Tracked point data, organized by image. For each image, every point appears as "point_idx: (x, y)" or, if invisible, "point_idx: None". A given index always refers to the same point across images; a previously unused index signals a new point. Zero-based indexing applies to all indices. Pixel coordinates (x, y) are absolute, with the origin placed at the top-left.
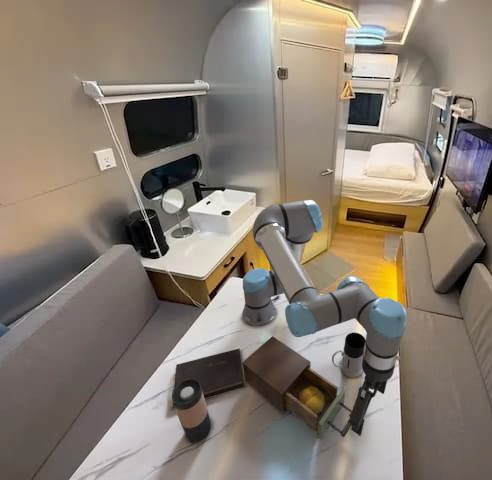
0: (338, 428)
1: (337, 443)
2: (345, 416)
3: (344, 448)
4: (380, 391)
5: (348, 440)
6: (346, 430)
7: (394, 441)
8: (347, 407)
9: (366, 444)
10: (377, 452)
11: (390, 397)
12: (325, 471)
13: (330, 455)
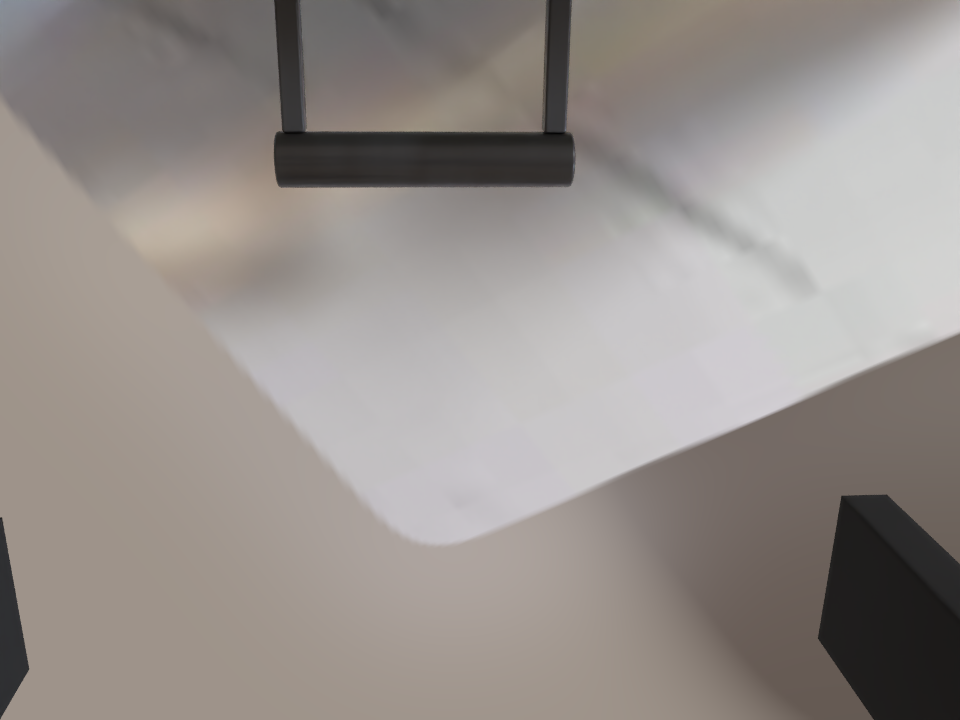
0: (299, 88)
1: None
2: None
3: None
4: (837, 604)
5: None
6: (334, 177)
7: (607, 468)
8: (565, 49)
9: (454, 307)
10: (457, 400)
11: (941, 301)
12: (54, 128)
13: (178, 96)
